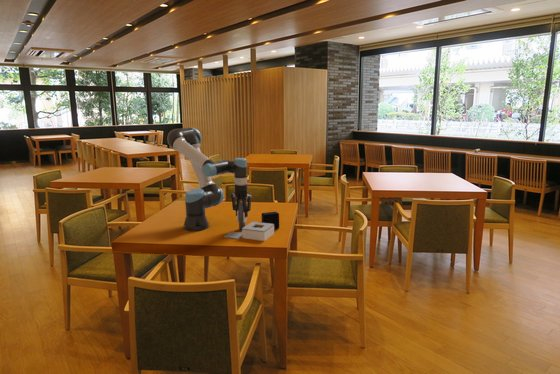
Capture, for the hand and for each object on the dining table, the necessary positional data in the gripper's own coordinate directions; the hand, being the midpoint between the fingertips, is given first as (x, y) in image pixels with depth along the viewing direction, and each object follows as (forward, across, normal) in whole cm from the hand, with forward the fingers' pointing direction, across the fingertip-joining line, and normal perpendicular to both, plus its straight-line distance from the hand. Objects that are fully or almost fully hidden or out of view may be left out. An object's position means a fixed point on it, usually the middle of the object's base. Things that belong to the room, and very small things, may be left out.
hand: (241, 221), depth 234 cm
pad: (+5, +1, -12) cm, 13 cm away
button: (+2, +14, -7) cm, 16 cm away
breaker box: (+5, +14, -7) cm, 17 cm away
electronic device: (+5, +16, +7) cm, 18 cm away
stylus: (+5, 0, 0) cm, 5 cm away
